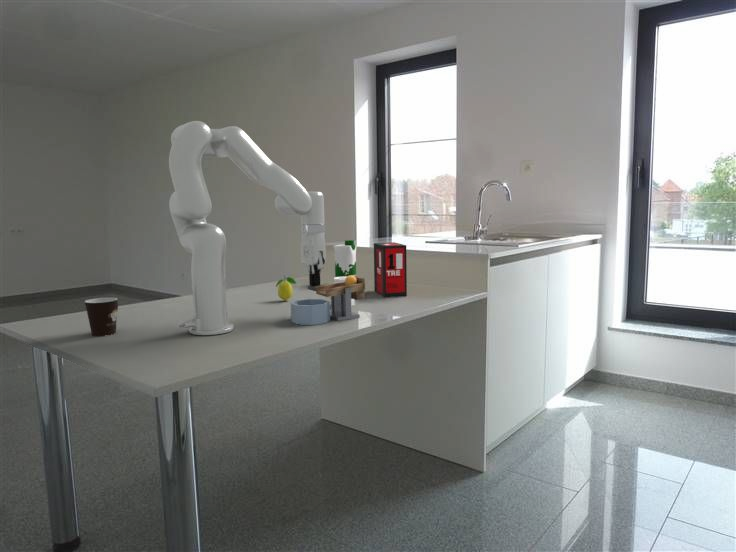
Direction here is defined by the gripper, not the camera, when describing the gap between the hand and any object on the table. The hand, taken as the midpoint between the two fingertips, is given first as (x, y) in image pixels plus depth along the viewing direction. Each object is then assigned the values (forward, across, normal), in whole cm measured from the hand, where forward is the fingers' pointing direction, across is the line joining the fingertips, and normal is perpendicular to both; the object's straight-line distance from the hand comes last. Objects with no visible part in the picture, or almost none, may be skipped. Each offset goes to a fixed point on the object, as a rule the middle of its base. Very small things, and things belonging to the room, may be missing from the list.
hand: (315, 285), depth 185 cm
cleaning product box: (+10, -20, +43) cm, 49 cm away
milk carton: (+10, -52, +40) cm, 66 cm away
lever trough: (+5, +4, +6) cm, 9 cm away
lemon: (+10, -30, +2) cm, 32 cm away
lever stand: (+10, +8, +5) cm, 14 cm away
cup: (+10, +8, -6) cm, 14 cm away
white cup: (+10, -10, +16) cm, 22 cm away
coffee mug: (+10, -14, -62) cm, 64 cm away
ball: (-1, +8, +9) cm, 12 cm away
